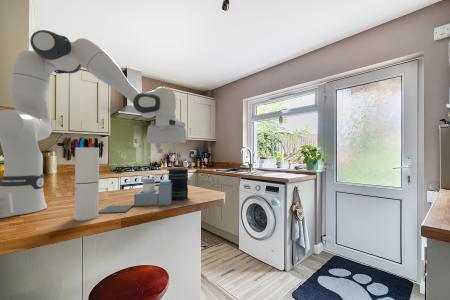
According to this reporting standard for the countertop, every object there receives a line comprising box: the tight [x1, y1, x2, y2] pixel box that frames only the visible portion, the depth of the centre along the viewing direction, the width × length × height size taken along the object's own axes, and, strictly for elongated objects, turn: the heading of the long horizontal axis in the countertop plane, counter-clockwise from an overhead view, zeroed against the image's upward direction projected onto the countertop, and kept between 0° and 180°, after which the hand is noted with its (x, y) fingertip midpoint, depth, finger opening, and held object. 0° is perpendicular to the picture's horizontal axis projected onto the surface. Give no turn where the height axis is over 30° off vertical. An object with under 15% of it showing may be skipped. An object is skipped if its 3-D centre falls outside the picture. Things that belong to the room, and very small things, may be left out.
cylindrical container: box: [73, 146, 100, 221], centre depth 74 cm, size 7×7×25 cm
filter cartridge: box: [142, 177, 155, 193], centre depth 96 cm, size 5×5×11 cm
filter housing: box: [133, 183, 172, 207], centre depth 96 cm, size 16×11×9 cm
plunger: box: [159, 179, 171, 185], centre depth 94 cm, size 4×4×7 cm
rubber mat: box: [98, 204, 134, 215], centre depth 84 cm, size 10×10×1 cm
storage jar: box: [168, 168, 189, 202], centre depth 105 cm, size 10×10×15 cm
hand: (165, 153), depth 95 cm, fingers open, 5 cm apart
